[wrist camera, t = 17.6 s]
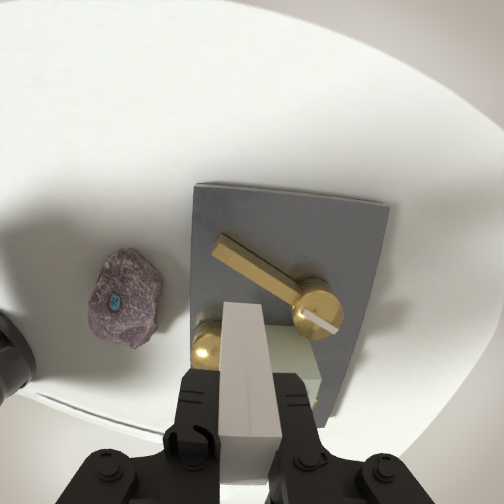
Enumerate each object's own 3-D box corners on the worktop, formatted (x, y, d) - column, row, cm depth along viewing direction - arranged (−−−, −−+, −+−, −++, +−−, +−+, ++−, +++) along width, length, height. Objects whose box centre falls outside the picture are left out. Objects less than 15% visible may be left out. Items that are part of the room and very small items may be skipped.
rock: (174, 259, 34) (165, 276, 30) (156, 338, 38) (147, 361, 33) (108, 238, 33) (90, 252, 29) (98, 318, 37) (84, 338, 32)
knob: (342, 293, 34) (355, 315, 29) (313, 326, 35) (322, 350, 31) (231, 218, 30) (230, 232, 26) (203, 258, 32) (198, 278, 27)
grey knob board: (194, 415, 43) (190, 445, 37) (196, 183, 31) (187, 193, 26) (321, 418, 44) (329, 446, 38) (381, 202, 32) (407, 216, 27)
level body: (248, 355, 36) (251, 415, 27) (252, 324, 35) (256, 383, 26) (298, 357, 37) (312, 415, 28) (304, 326, 35) (323, 383, 26)
